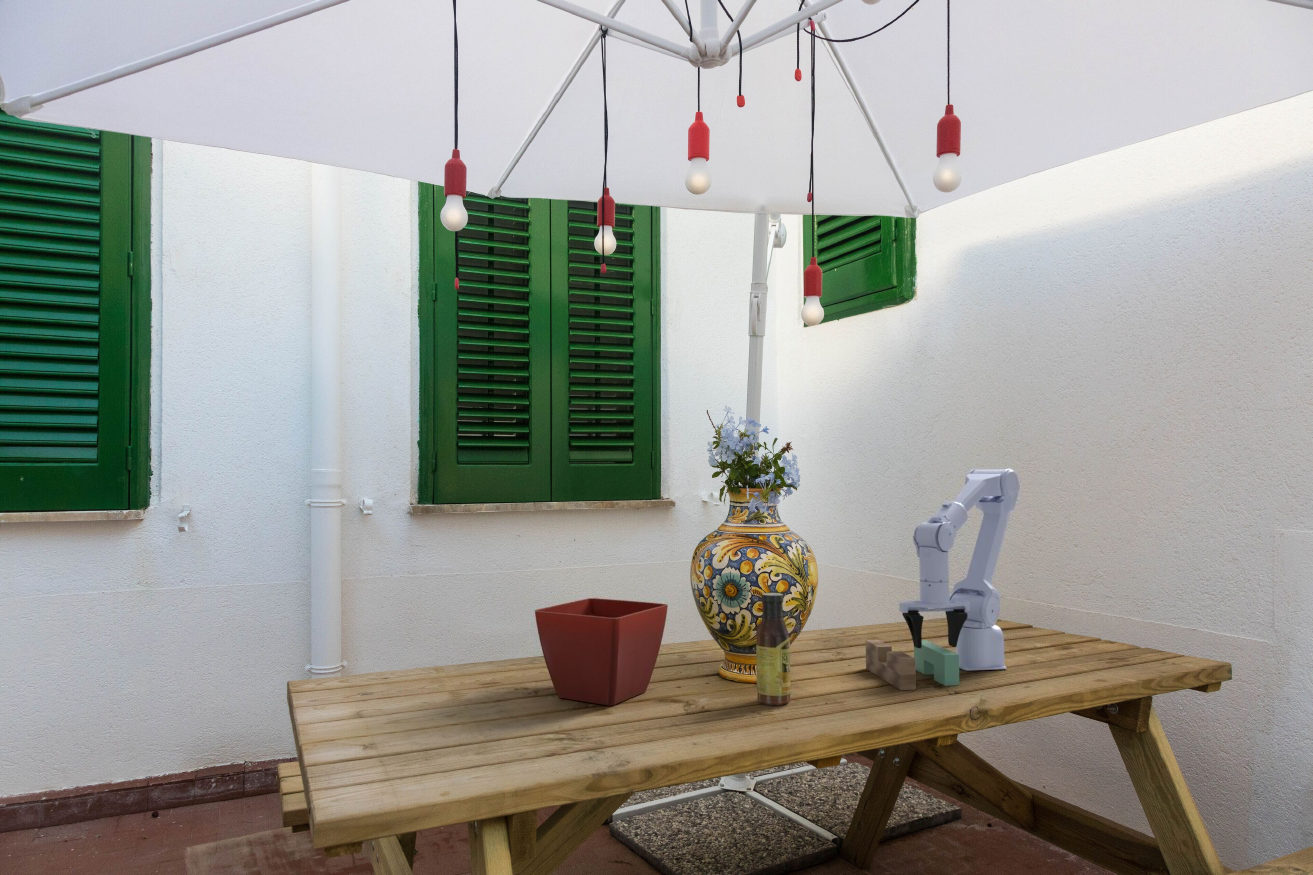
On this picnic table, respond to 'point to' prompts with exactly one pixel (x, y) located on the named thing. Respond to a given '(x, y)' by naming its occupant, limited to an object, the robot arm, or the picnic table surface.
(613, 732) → the picnic table surface
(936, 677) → the green notched bar
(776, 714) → the picnic table surface
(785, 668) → the sauce bottle
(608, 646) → the plant pot
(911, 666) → the walnut notched bar
